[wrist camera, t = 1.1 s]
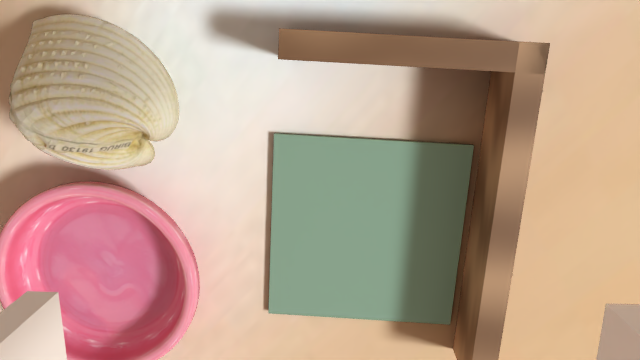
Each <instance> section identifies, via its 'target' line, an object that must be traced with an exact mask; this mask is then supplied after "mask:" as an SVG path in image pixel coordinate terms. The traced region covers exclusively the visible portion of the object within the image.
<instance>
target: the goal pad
mask: <svg viewBox="0 0 640 360" xmlns="http://www.w3.org/2000/svg"><path fill="white" fill-rule="evenodd" d="M473 149H474V145H470V144H453V143H435V142H418V141H401V140H383V139H366V138H349V137H332V136H314V135H297V134H280V133H274V151H273V183H272V216H271V248H270V281H269V313H272V314H288V315H304V316H320V317H336V318H352V319H368V320H384V321H400V322H416V323H432V324H448V325H450V321H451V314H452V306H453V299H454V292H455V284H456V277H457V269H458V262H459V254H460V247H461V239H462V232H463V224H464V217H465V209H466V202H467V194H468V187H469V179H470V172H471V164H472V157H473Z"/></svg>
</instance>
